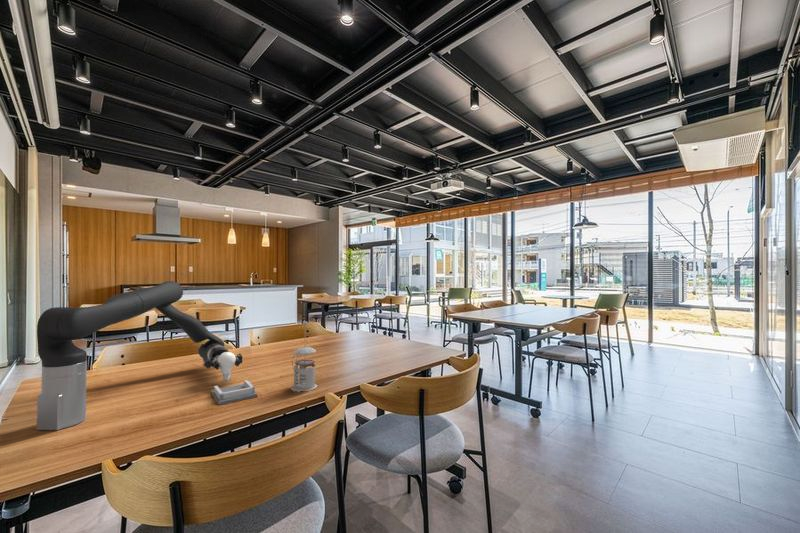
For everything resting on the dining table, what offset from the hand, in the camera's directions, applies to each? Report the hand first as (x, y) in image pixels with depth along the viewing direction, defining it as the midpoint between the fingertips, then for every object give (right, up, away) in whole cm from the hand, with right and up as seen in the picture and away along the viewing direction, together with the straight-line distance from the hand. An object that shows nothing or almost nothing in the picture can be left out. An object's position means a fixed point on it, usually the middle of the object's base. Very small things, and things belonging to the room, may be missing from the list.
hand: (228, 365), depth 129 cm
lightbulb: (-2, -7, +2) cm, 7 cm away
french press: (+28, -9, +1) cm, 30 cm away
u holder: (+6, -8, -8) cm, 13 cm away
